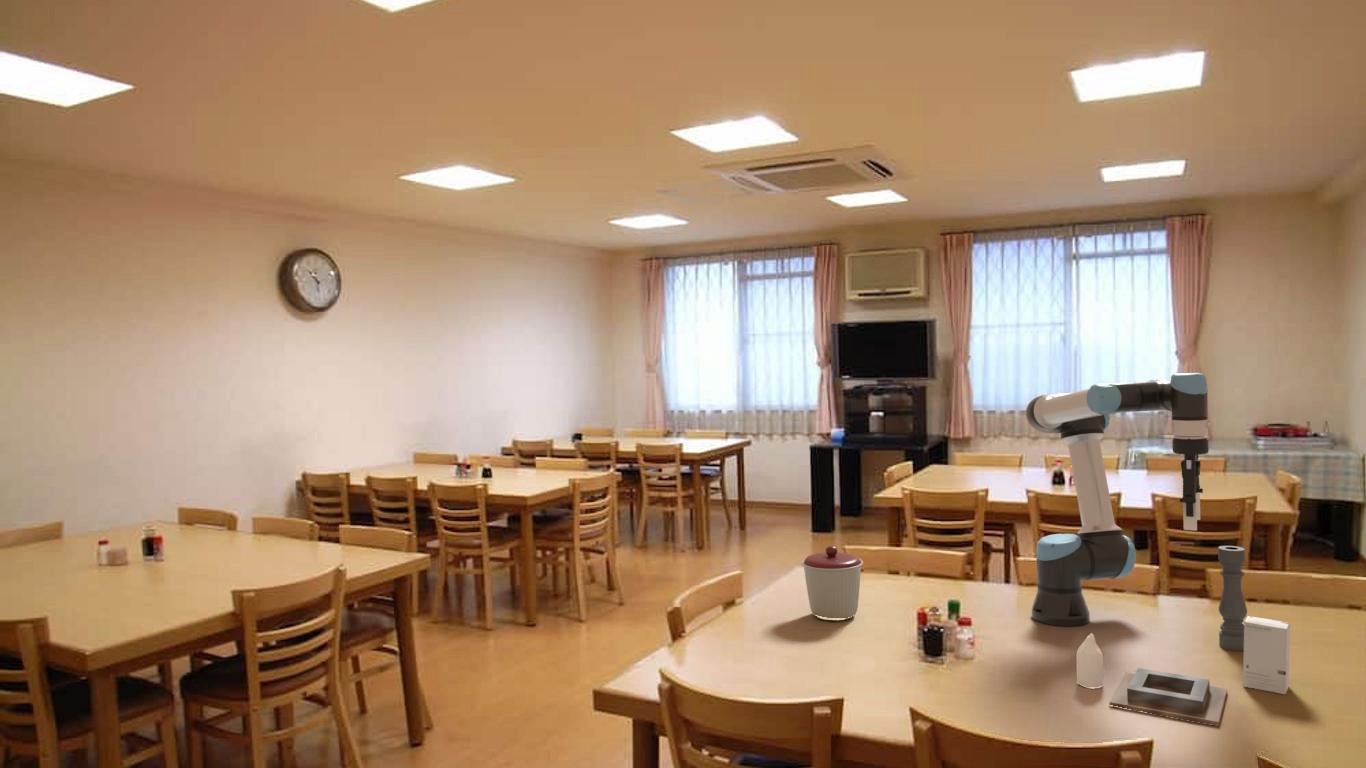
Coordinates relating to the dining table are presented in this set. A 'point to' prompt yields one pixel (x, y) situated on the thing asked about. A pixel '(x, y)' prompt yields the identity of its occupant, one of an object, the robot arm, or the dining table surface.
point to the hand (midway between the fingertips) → (1192, 524)
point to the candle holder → (1232, 598)
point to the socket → (1171, 696)
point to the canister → (833, 583)
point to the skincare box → (1266, 654)
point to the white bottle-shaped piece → (1089, 663)
